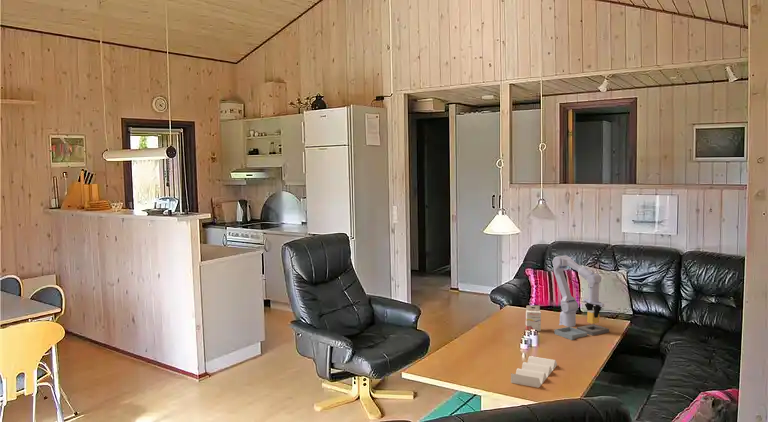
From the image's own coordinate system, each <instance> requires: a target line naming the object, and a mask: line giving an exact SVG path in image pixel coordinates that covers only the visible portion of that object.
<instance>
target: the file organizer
mask: <svg viewBox="0 0 768 422" xmlns="http://www.w3.org/2000/svg"><path fill="white" fill-rule="evenodd" d="M557 366H558V363H557V360H556V359H552V358H545V357H537V356H531V355H529V356H528V359H527V362H526V361H523V362H522V364H521V368H519V367H517V368H516V371H515V373H510V383H511V384H515V385H521V386H527V387H532V388H540V387H541V386H542V385H543V384H544V383H545V381H546V380H547V378H548V377H549V376H550V375H551V373H552V372H553V371H554V370H555V368H556V367H557Z"/></svg>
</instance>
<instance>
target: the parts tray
mask: <svg viewBox="0 0 768 422" xmlns="http://www.w3.org/2000/svg"><path fill="white" fill-rule="evenodd" d="M554 335H556V336H559V337H562V338H565V339H568V340H570V341H574V340H576V339H579V338H583V337H588V334H587V332H584V331H581V330H578V329H577V328H575V327H568V326H565V327H561V328H556V329H554Z"/></svg>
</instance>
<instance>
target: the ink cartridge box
mask: <svg viewBox="0 0 768 422" xmlns="http://www.w3.org/2000/svg"><path fill="white" fill-rule="evenodd" d="M525 308H526V309H525V330H526V331H527V330H529V329H535V330H537V331H536V332H541V330H542V327H541V326H542V325H541V324H542V312H541V310H540V309H541V306H540V305H526V307H525Z"/></svg>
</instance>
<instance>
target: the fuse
mask: <svg viewBox="0 0 768 422" xmlns="http://www.w3.org/2000/svg"><path fill="white" fill-rule="evenodd" d="M586 311H587V310H586ZM586 315H587V318H586V319H587V320H586V322H587V323H589V324H590V325H592V324H599V323H600V314H599V315H598V317H597V318H595V317H594V309H593V310H588V311H587V314H586Z"/></svg>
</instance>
